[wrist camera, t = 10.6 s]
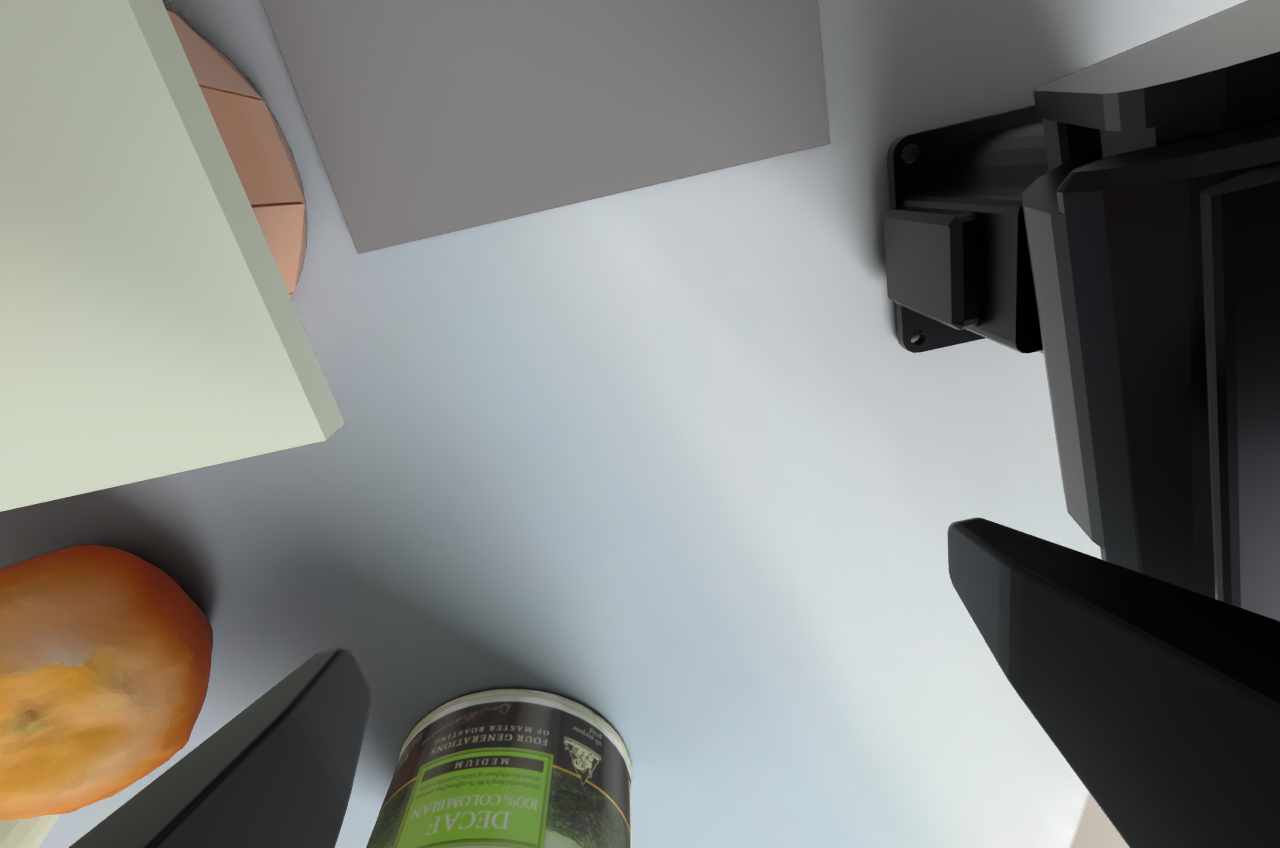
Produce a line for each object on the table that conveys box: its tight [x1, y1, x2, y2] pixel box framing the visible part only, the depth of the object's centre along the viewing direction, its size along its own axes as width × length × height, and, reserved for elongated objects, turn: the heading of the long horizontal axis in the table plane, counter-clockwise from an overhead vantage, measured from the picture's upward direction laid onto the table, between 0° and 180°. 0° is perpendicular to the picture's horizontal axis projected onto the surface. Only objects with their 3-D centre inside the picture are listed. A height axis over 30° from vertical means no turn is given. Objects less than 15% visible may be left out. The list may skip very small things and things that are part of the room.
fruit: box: [0, 544, 213, 820], centre depth 20 cm, size 8×8×8 cm
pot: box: [167, 10, 307, 297], centre depth 15 cm, size 10×10×6 cm
